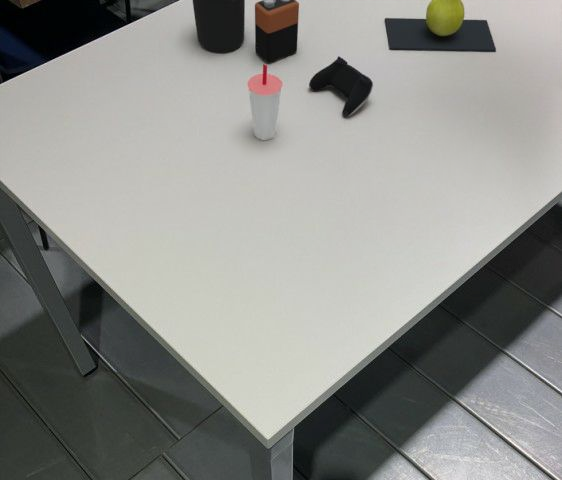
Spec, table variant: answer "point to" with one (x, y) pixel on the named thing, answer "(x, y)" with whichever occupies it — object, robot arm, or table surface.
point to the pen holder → (220, 24)
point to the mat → (421, 38)
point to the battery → (276, 28)
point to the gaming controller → (344, 84)
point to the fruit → (445, 16)
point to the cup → (264, 103)
